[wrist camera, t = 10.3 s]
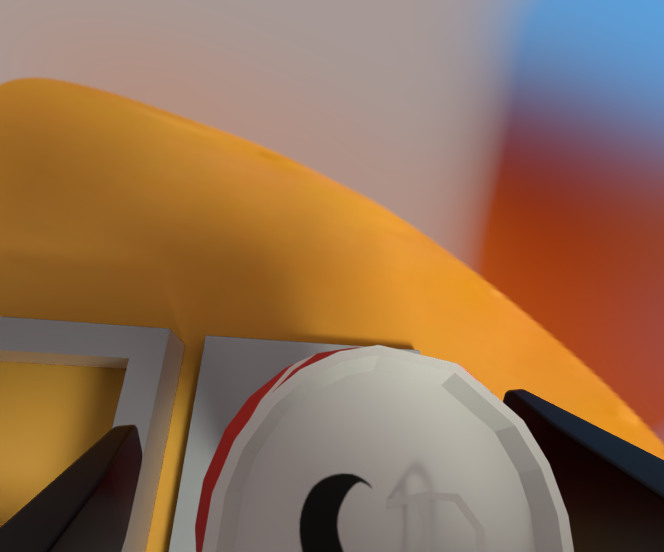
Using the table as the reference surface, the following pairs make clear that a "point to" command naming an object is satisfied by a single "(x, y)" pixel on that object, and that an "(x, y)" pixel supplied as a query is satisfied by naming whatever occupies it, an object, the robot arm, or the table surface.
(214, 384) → the mat
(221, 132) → the table surface
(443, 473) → the soda can
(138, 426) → the collar
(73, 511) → the robot arm
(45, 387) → the table surface
